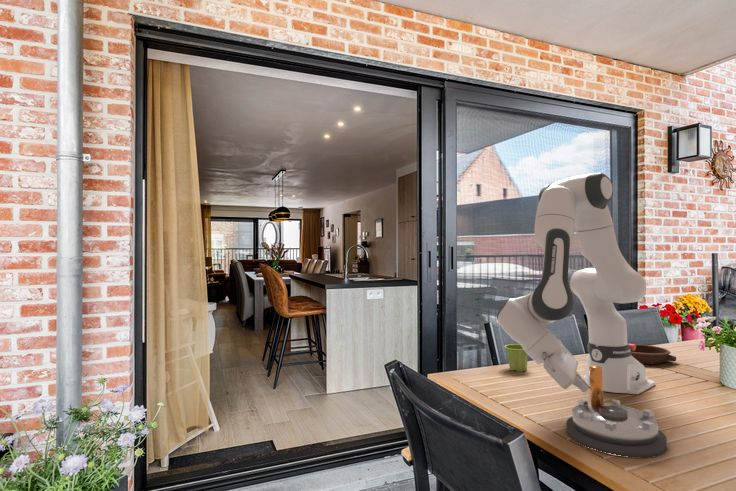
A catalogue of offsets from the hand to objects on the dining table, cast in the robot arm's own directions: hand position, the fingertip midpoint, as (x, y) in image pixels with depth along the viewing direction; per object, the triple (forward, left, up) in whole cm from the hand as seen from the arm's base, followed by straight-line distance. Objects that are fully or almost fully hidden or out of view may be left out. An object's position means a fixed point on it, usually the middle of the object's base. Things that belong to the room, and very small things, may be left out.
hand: (586, 389), depth 111 cm
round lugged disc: (+2, +9, -7) cm, 11 cm away
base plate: (+2, +9, -9) cm, 12 cm away
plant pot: (-22, -45, -9) cm, 51 cm away
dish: (-72, -28, -9) cm, 78 cm away
